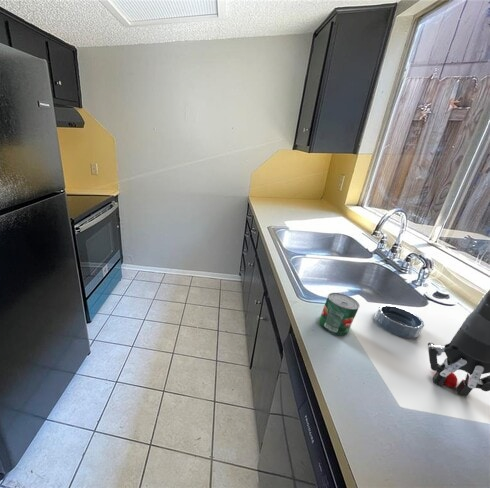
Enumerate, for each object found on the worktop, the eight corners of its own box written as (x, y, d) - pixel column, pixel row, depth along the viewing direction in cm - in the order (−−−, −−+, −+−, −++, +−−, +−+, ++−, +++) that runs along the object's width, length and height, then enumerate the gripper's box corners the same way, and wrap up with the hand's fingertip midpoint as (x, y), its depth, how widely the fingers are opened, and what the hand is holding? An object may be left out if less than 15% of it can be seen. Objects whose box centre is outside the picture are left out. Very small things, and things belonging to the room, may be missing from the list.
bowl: (414, 327, 82) (422, 314, 80) (418, 347, 74) (426, 333, 72) (373, 312, 88) (379, 300, 86) (372, 329, 80) (378, 316, 78)
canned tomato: (315, 317, 84) (326, 289, 80) (343, 324, 82) (355, 296, 77) (319, 333, 78) (330, 304, 73) (349, 342, 75) (363, 312, 71)
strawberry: (456, 392, 62) (446, 374, 65) (465, 385, 60) (455, 367, 63) (438, 388, 63) (429, 371, 66) (446, 381, 61) (437, 364, 64)
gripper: (531, 341, 54) (485, 395, 61) (439, 311, 61) (407, 363, 68) (548, 364, 48) (495, 421, 55) (444, 328, 56) (409, 383, 63)
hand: (447, 389), depth 62 cm, fingers open, 3 cm apart
